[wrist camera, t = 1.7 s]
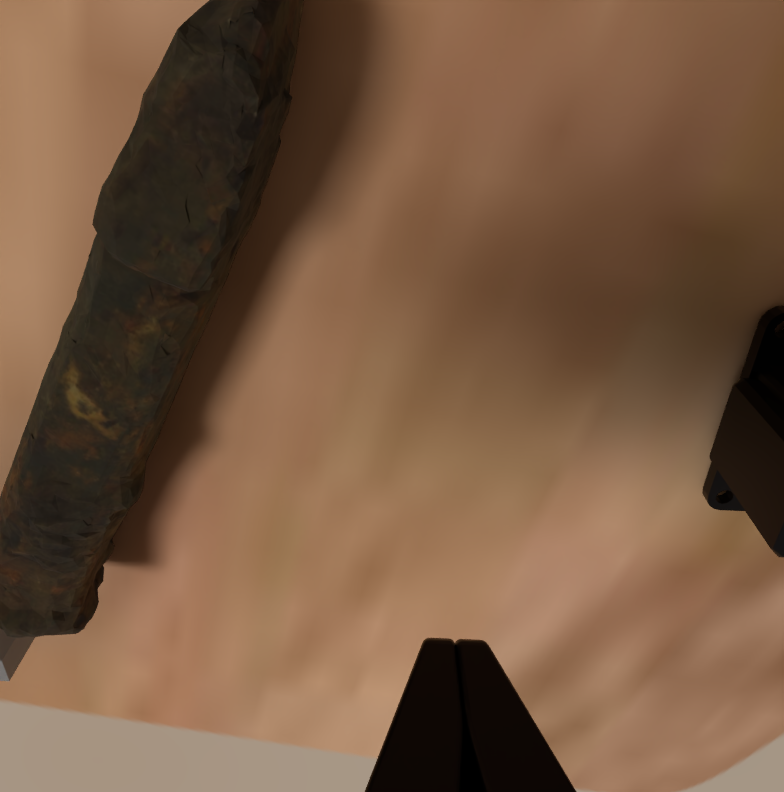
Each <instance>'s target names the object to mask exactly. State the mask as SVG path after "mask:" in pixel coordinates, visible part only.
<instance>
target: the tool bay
mask: <svg viewBox="0 0 784 792" xmlns="http://www.w3.org/2000/svg"><path fill="white" fill-rule="evenodd" d="M34 638H35V637H23V638H15V637H8V636H7V635H6V634H5V632H4V631H3V630H2V629H0V681H10V679H11V677H12V676H13V674H14V672H15V671H16V669H17V667H18V665H19V664H20V662H21V660H22V659H23V657H24V655H25V653H26V652H27V650H28V648H29V647H30V645H31V643H32V642H33V640H34Z"/></svg>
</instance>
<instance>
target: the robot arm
mask: <svg viewBox="0 0 784 792" xmlns="http://www.w3.org/2000/svg"><path fill="white" fill-rule="evenodd" d="M783 321H784V306H777V307H774V308H772V309H770V310H768V311H767V312H766V313H765V314H764V315H763V316H762V318H761V319H760V321H759V323H758V326H757V329H756V332H755V335H754V338H753V341H752V344H751V347H750V350H749V353H748V356H747V359H746V362H745V365H744V368H743V371H742V374H741V377H740V379H739V380H738V381H737V382H736V383H735V384H734V385H733V387H732V390H731V393H730V396H729V399H728V402H727V405H726V408H725V411H724V414H723V417H722V420H721V423H720V426H719V429H718V432H717V435H716V438H715V441H714V444H713V447H712V450H711V453H710V459H711V461H712V463H711V466H710V469H709V472H708V475H707V478H706V481H705V483H704V486H703V495H704V497H705V499H706V500H707V502H708V504H709V505H710V506H711V507H712V508H714V509H718V510H734V511H746V513H747V514H748V516H749V517H750V519H751V520H752V522H753V523H754V525H755V526H756V528H757V529H758V530H759V532H760V533H761V535H762V536H763V538H764V539H765V541H766V542H767V544H768V545H769V547H770V548H771V549H772V550H773V552H774V553H775V554H776V555H777V556H778V557H784V329H782V330H781V331H778V332H775V328H776V327H777V325H778V324H780V323H781V322H783ZM724 490H727V491H726V492H725V493H724V494H722V495H718V493H720V492H721V491H724ZM365 792H576V790H575V789H574V787H573V785H572V784H571V782H570V780H569V779H568V777H567V775H566V774H565V772H564V770H563V769H562V767H561V765H560V764H559V762H558V760H557V759H556V757H555V755H554V754H553V752H552V750H551V749H550V747H549V745H548V744H547V742H546V740H545V739H544V737H543V735H542V734H541V732H540V730H539V729H538V727H537V725H536V724H535V722H534V720H533V719H532V717H531V715H530V714H529V712H528V710H527V708H526V707H525V705H524V703H523V702H522V700H521V698H520V697H519V695H518V693H517V692H516V690H515V688H514V687H513V685H512V683H511V682H510V680H509V678H508V677H507V675H506V673H505V672H504V670H503V668H502V667H501V665H500V663H499V662H498V660H497V658H496V657H495V655H494V653H493V652H492V650H491V648H490V647H489V645H488V644H487V643H486V642H485V641H483V640H471V639H459V640H457V641H456V642H455V643H454V641H453V640H451V639H446V638H427V639H425V640H424V641H423V643H422V646H421V648H420V651H419V653H418V656H417V658H416V661H415V664H414V666H413V669H412V671H411V674H410V676H409V679H408V682H407V684H406V687H405V689H404V692H403V695H402V697H401V700H400V702H399V705H398V707H397V710H396V713H395V715H394V718H393V720H392V723H391V725H390V728H389V731H388V733H387V736H386V738H385V741H384V743H383V746H382V749H381V751H380V754H379V756H378V759H377V761H376V764H375V767H374V769H373V772H372V774H371V777H370V780H369V782H368V785H367V787H366V790H365Z"/></svg>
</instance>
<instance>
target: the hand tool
mask: <svg viewBox="0 0 784 792" xmlns="http://www.w3.org/2000/svg"><path fill="white" fill-rule="evenodd" d="M303 2H304V0H209V1H208V2H207V3H206V4H205V5H203V6H202V7H201V8H200V9H199V10H198V11H197V12H195V13H194V14H193V15H192V16H191V17H190V18H189V19H188V20H187V21H186V22H184V23H183V24H182V25H181V26H180V27H179V28H178V30H177V31H176V33H175V35H174V37H173V39H172V41H171V43H170V46H169V48H168V50H167V52H166V54H165V56H164V58H163V60H162V62H161V64H160V67H159V69H158V71H157V72H156V74H155V76H154V77H153V79H152V81H151V82H150V84H149V86H148V87H147V89H146V91H145V93H144V94H143V98H142V102H141V107H140V111H139V115H138V118H137V121H136V123H135V126H134V128H133V130H132V132H131V135H130V137H129V139H128V141H127V142H126V144H125V146H124V147H123V149H122V151H121V152H120V154H119V156H118V158H117V160H116V162H115V164H114V166H113V169H112V171H111V173H110V175H109V176H108V178H107V179H106V181H105V183H104V184H103V186H102V189H101V192H100V195H99V198H98V202H97V206H96V210H95V214H94V219H93V226H94V228H95V230H96V232H97V235H96V237H95V239H94V242H93V245H92V249H91V252H90V254H89V259H88V262H87V265H86V268H85V271H84V275H83V277H82V280H81V283H80V286H79V288H78V291H77V298H76V301H75V303H74V305H73V308H72V310H71V312H70V314H69V316H68V318H67V320H66V322H65V323H64V325H63V328H62V332H61V336H60V339H59V342H58V345H57V348H56V350H55V352H54V354H53V356H52V358H51V360H50V362H49V364H48V367H47V369H46V372H45V375H44V377H43V380H42V383H41V386H40V389H39V392H38V395H37V398H36V400H35V403H34V406H33V409H32V411H31V414H30V417H29V420H28V422H27V425H26V427H25V430H24V433H23V435H22V438H21V441H20V444H19V447H18V450H17V452H16V455H15V458H14V461H13V464H12V467H11V469H10V472H9V474H8V477H7V479H6V482H5V484H4V487H3V490H2V493H1V497H0V629H2V630H3V631H4V632H5V634H6V635H7V636H8V637H15V638H23V637H38V636H44V635H63V634H76V633H79V632H80V631H81V630H83V629H84V628H85V626H86V624H87V623H88V622H89V620H90V619H91V618H92V617H93V615H94V613H95V611H96V608H97V605H98V603H99V602H98V590H97V589H98V587H99V586H100V584H101V583H102V582H103V575H104V567H103V564H104V563H105V562H106V561H107V559H108V558H109V557H110V555H111V554H112V552H113V549H114V544H113V542H112V537H113V536H114V534H115V533H116V531H117V529H118V527H119V525H120V524H121V523H122V521H123V519H124V517H125V516H126V514H127V512H128V510H129V508H130V506H132V505H133V504H134V503H136V501H137V500H138V499H139V498H140V495H141V492H142V489H143V483H144V476H145V466H146V461H147V458H148V456H149V454H150V452H151V450H152V448H153V446H154V445H155V443H156V441H157V439H158V436H159V434H160V431H161V427H162V425H163V423H164V421H165V419H166V416H167V414H168V411H169V409H170V407H171V404H172V402H173V399H174V397H175V395H176V392H177V390H178V388H179V385H180V383H181V380H182V378H183V376H184V373H185V371H186V368H187V366H188V364H189V361H190V359H191V356H192V354H193V352H194V349H195V347H196V345H197V343H198V341H199V339H200V338H201V336H202V333H203V331H204V329H205V327H206V324H207V322H208V320H209V317H210V315H211V313H212V311H213V308H214V306H215V304H216V301H217V299H218V296H219V294H220V292H221V289H222V287H223V285H224V283H225V281H226V278H227V276H228V274H229V271H230V268H231V266H232V263H233V260H234V258H235V255H236V252H237V250H238V248H239V246H240V244H241V242H242V240H243V239H244V237H245V235H246V234H247V232H248V230H249V228H250V226H251V224H252V222H253V220H254V217H255V215H256V213H257V210H258V208H259V206H260V202H261V196H262V194H263V191H264V188H265V186H266V183H267V180H268V178H269V175H270V172H271V169H272V166H273V163H274V161H275V158H276V155H277V152H278V149H279V146H280V143H281V140H280V135H279V134H280V130H281V128H282V125H283V123H284V121H285V119H286V116H287V114H288V112H289V108H290V104H291V100H292V97H291V95H290V94H289V90H290V80H291V75H292V71H293V66H294V62H295V57H296V50H297V42H298V34H299V26H300V20H301V14H302V8H303Z"/></svg>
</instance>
